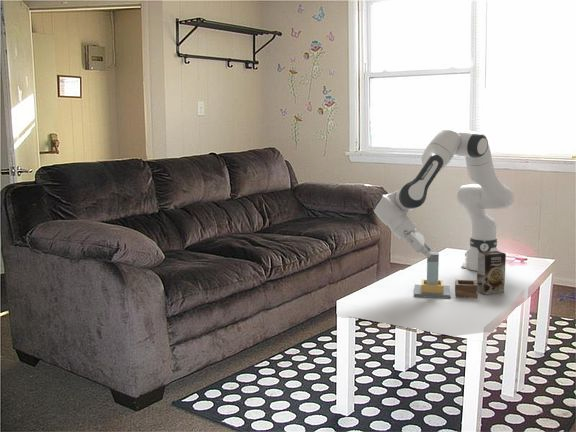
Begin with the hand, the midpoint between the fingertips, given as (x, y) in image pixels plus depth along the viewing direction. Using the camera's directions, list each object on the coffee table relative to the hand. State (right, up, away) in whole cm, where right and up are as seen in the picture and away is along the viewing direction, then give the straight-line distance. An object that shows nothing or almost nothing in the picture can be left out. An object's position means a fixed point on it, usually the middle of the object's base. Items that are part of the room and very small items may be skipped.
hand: (429, 253), depth 254 cm
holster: (+14, -16, -1) cm, 21 cm away
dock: (+1, -16, +2) cm, 16 cm away
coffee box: (+25, -16, +2) cm, 30 cm away
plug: (+1, -15, +2) cm, 15 cm away
